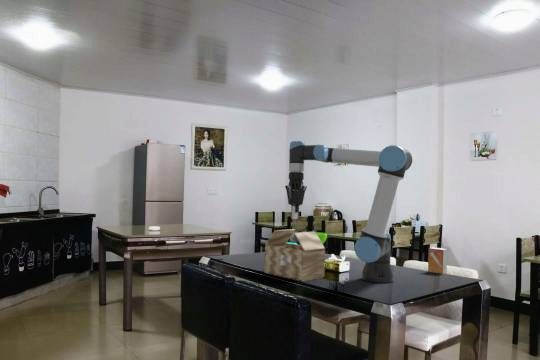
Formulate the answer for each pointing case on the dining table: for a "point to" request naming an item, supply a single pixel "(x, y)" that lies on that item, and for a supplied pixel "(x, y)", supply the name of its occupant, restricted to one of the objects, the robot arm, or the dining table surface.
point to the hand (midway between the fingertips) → (294, 218)
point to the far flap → (280, 236)
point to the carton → (294, 261)
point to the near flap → (309, 241)
